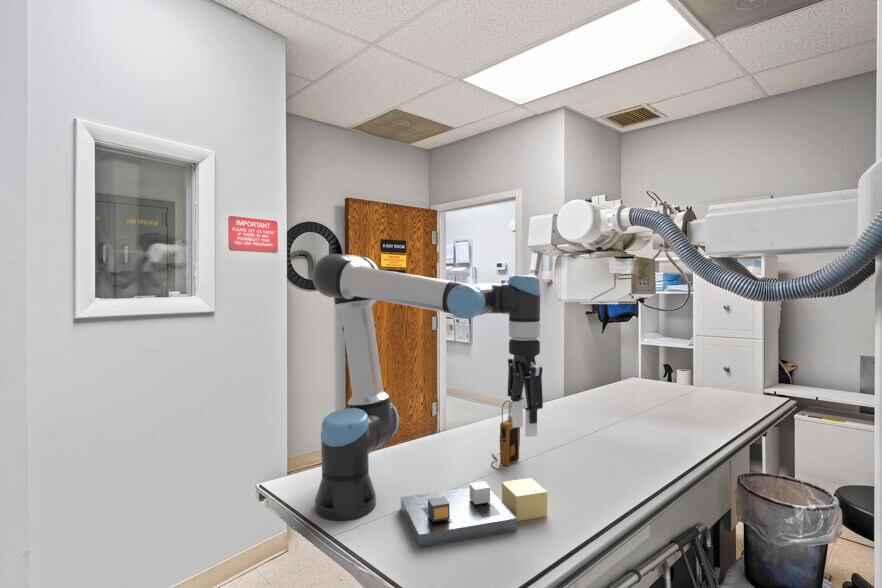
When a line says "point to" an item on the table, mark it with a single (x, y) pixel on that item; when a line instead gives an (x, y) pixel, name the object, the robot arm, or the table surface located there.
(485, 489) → the block
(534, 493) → the cap
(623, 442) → the table surface
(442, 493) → the breaker panel
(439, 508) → the block
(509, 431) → the multimeter
